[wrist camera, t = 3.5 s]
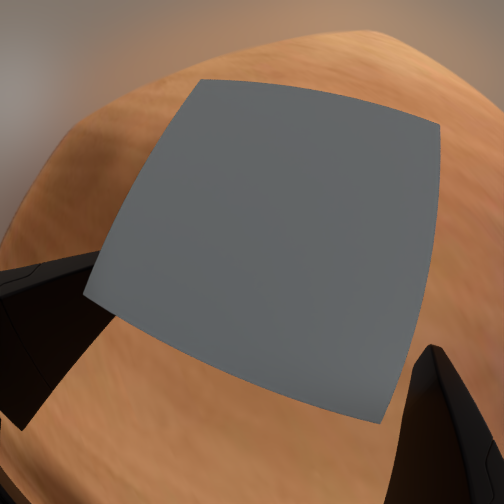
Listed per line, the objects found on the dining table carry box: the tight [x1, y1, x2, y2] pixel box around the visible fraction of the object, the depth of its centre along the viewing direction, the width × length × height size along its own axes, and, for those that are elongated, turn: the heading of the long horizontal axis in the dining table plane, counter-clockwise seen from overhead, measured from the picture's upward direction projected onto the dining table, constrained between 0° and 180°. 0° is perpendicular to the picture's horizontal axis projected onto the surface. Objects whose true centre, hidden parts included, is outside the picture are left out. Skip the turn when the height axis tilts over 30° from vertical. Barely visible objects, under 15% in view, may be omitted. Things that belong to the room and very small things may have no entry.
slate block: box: [83, 79, 440, 424], centre depth 10 cm, size 5×5×13 cm
